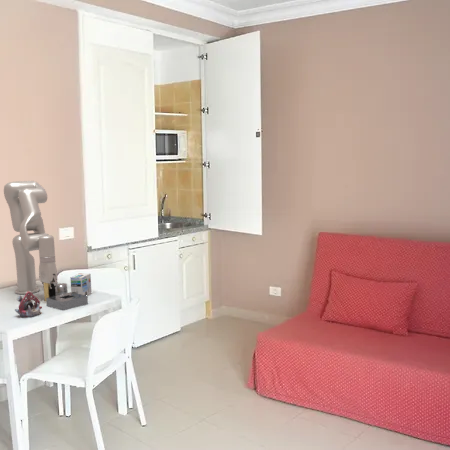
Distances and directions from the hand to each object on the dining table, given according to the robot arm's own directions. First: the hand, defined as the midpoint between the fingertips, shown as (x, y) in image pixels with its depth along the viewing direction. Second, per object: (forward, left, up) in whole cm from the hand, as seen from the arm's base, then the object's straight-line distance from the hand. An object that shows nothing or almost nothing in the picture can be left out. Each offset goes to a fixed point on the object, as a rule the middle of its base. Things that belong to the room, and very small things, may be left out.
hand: (50, 295), depth 281 cm
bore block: (+15, 0, -3) cm, 15 cm away
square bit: (0, 0, -3) cm, 3 cm away
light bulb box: (+4, +16, -3) cm, 17 cm away
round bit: (-4, +9, -3) cm, 10 cm away
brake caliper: (+16, -21, -3) cm, 26 cm away
